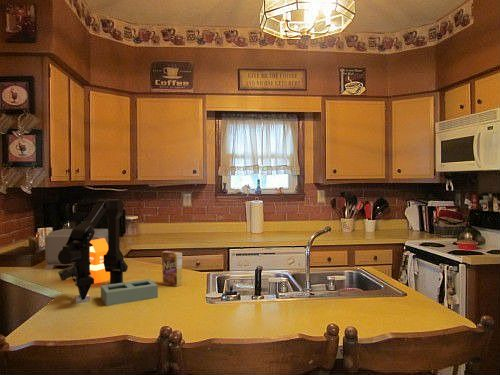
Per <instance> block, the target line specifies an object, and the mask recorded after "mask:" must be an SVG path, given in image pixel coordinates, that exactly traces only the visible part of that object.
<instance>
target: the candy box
mask: <svg viewBox="0 0 500 375" xmlns="http://www.w3.org/2000/svg"><path fill="white" fill-rule="evenodd" d="M161 255H162V256H161V258H162V260H161V262H162V266H161V269H162V270H161V271H162V284H163V285H167V286H173V287H176V288H177V287H180V286H182V285H183V252H181V251H172V250H171V251H170V250H165V251H162V252H161Z"/></svg>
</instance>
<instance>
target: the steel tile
mask: <svg viewBox="0 0 500 375" xmlns="http://www.w3.org/2000/svg"><path fill="white" fill-rule="evenodd" d="M90 301H91V296H90V294H89V293H87V295H86V297H85V299H84V300H82V299H81V295H80V294H76V295H74V302H75V304H81V303H87V302H90Z"/></svg>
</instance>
